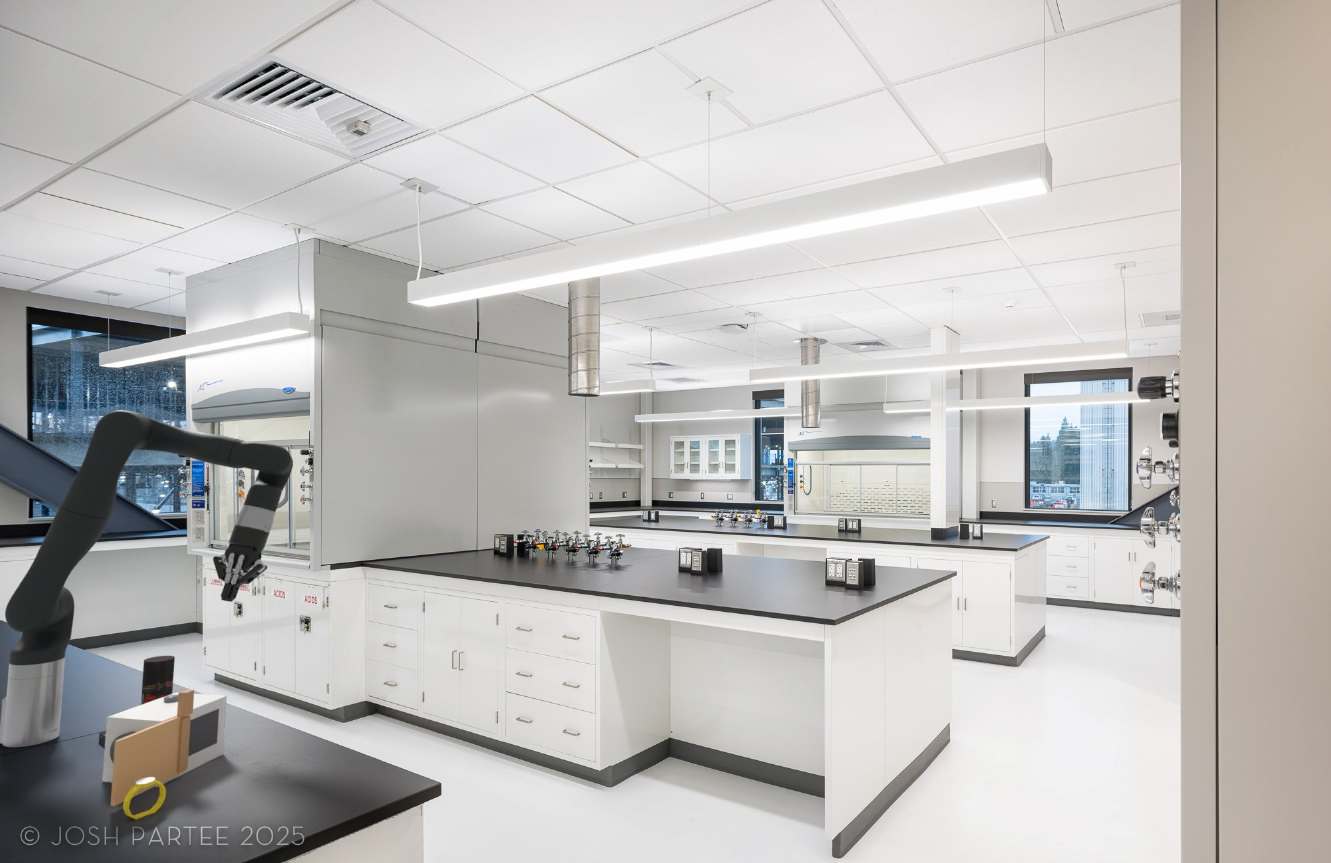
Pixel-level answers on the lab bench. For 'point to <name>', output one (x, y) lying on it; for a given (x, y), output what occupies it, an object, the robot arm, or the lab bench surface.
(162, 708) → the box
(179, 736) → the side door
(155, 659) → the deodorant
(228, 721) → the lab bench surface
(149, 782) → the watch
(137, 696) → the lab bench surface
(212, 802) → the lab bench surface
